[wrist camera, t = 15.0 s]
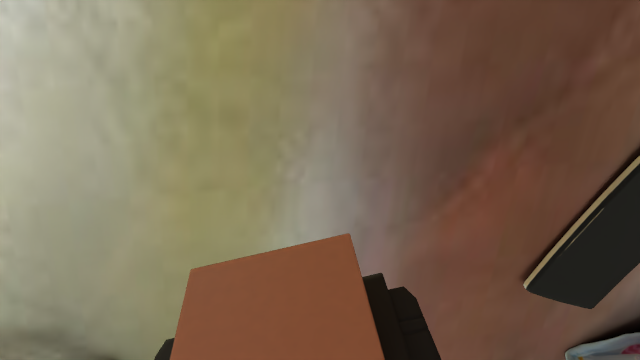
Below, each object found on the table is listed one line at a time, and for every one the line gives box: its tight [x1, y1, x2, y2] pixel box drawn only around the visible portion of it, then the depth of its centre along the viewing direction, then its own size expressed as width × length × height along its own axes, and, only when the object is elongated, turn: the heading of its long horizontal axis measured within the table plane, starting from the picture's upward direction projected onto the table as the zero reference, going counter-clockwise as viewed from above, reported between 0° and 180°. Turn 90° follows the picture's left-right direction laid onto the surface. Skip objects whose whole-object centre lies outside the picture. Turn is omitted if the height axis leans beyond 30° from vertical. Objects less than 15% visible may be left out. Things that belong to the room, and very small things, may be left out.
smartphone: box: [524, 156, 640, 309], centre depth 30 cm, size 7×1×15 cm
